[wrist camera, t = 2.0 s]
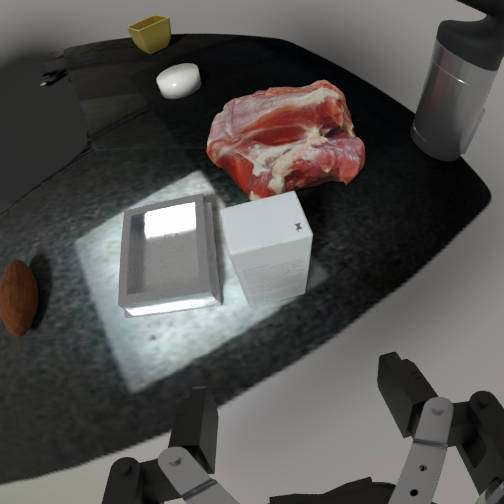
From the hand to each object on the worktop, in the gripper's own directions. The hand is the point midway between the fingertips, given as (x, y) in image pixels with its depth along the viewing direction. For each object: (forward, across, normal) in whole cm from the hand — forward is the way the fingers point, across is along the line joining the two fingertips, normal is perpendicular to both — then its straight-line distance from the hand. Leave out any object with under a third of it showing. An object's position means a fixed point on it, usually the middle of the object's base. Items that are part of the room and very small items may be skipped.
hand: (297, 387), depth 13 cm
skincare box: (+19, 0, +3) cm, 20 cm away
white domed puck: (+49, +10, -27) cm, 57 cm away
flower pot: (+67, +18, -45) cm, 83 cm away
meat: (+32, -5, -10) cm, 34 cm away
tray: (+23, +11, -1) cm, 25 cm away
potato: (+21, +33, +2) cm, 39 cm away
